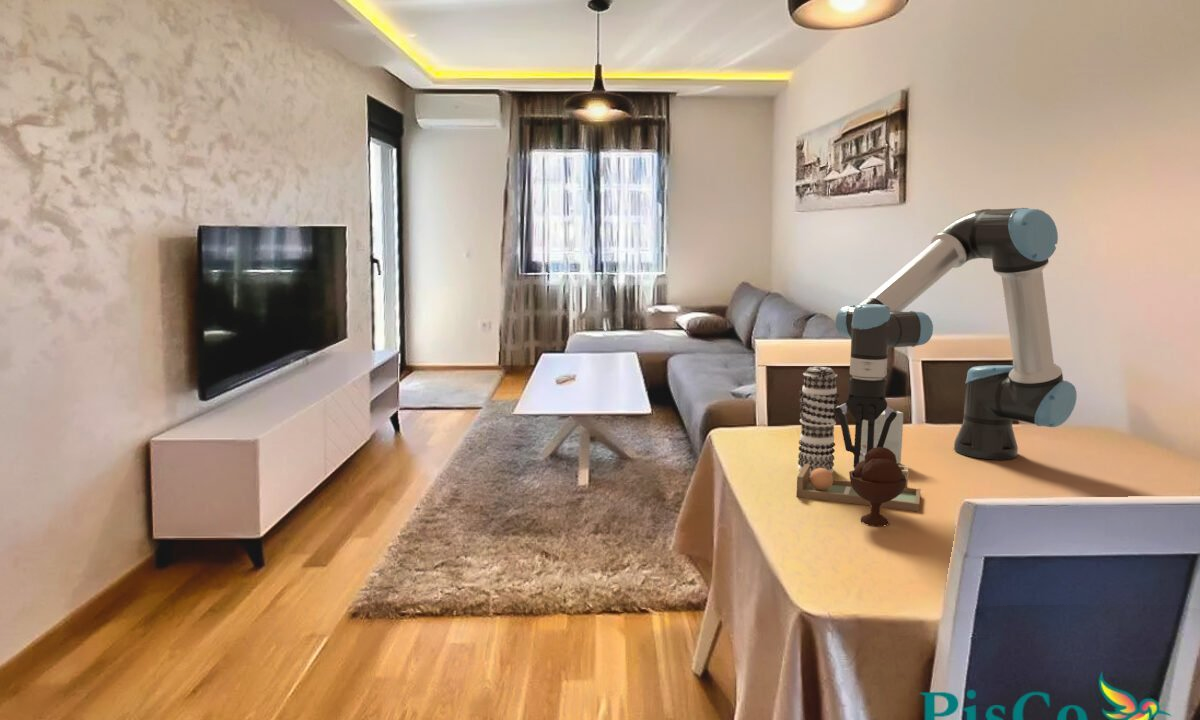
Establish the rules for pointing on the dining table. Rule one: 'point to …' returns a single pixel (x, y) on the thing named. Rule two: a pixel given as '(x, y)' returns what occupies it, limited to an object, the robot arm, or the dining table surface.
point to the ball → (821, 479)
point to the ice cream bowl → (877, 482)
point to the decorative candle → (817, 418)
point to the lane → (852, 493)
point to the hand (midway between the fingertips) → (861, 483)
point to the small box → (893, 436)
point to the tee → (905, 473)
